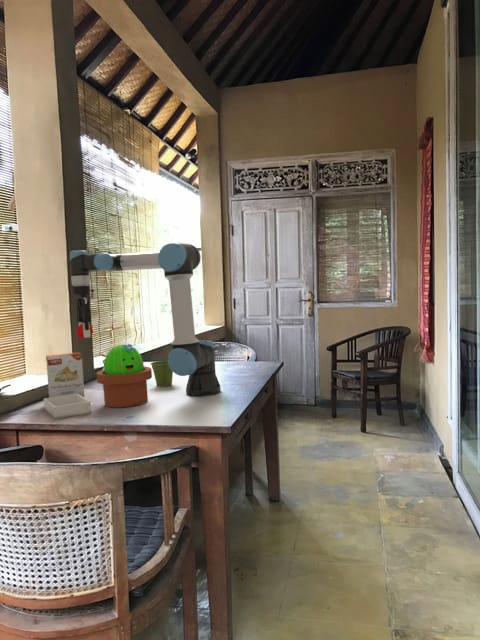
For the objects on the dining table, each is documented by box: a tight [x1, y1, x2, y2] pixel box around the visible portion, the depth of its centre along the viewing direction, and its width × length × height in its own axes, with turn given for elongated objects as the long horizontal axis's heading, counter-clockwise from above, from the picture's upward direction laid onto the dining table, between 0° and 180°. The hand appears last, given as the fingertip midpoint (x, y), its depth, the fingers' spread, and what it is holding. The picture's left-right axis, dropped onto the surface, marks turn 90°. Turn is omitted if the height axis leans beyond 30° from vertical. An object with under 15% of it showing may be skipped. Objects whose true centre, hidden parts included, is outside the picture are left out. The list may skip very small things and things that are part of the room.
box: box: [43, 393, 92, 420], centre depth 199 cm, size 20×13×4 cm, turn 32°
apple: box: [75, 323, 94, 339], centre depth 224 cm, size 7×7×8 cm
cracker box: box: [45, 352, 85, 398], centre depth 215 cm, size 14×6×21 cm, turn 118°
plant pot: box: [149, 360, 174, 388], centre depth 242 cm, size 12×12×11 cm
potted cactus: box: [96, 343, 153, 409], centre depth 207 cm, size 22×22×25 cm
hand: (85, 336), depth 224 cm, fingers closed on apple, 7 cm apart
